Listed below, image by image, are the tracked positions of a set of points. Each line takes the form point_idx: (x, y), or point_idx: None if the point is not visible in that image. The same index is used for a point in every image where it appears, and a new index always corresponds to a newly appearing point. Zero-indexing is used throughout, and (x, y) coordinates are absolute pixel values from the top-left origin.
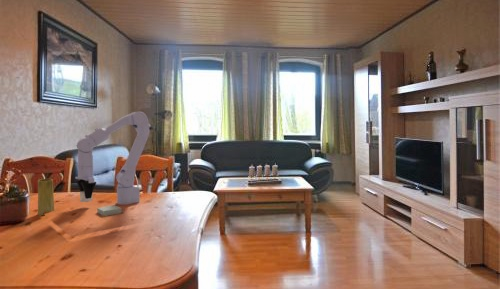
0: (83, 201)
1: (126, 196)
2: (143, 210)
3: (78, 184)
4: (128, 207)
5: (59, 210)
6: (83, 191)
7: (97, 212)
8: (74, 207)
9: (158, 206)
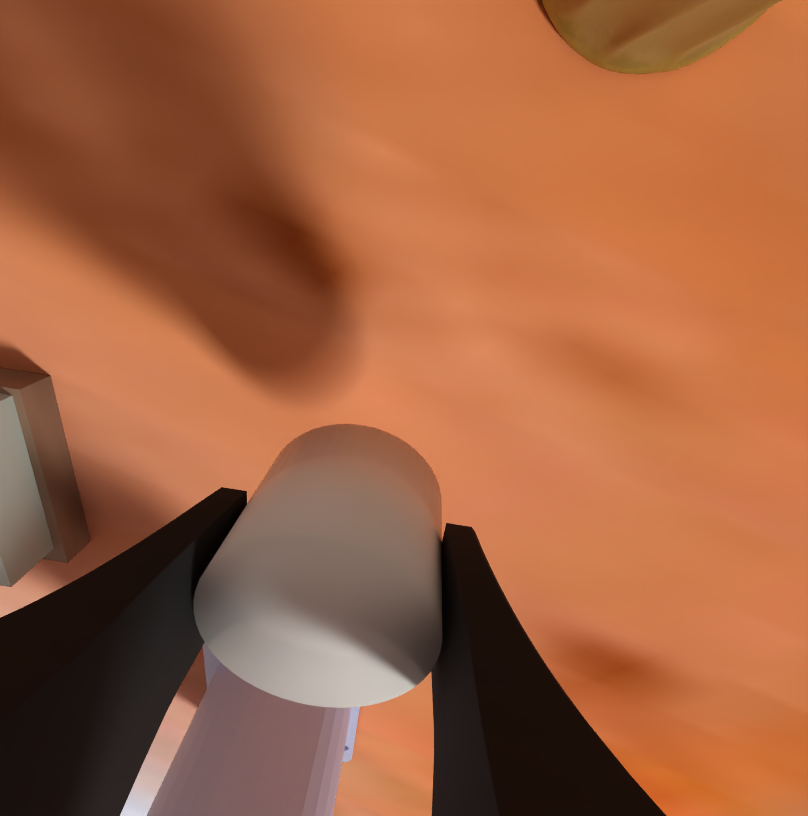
0: (292, 442)
1: (167, 772)
2: None
3: (497, 783)
4: (198, 659)
5: (674, 197)
6: (364, 608)
7: (7, 396)
8: (634, 408)
9: None
